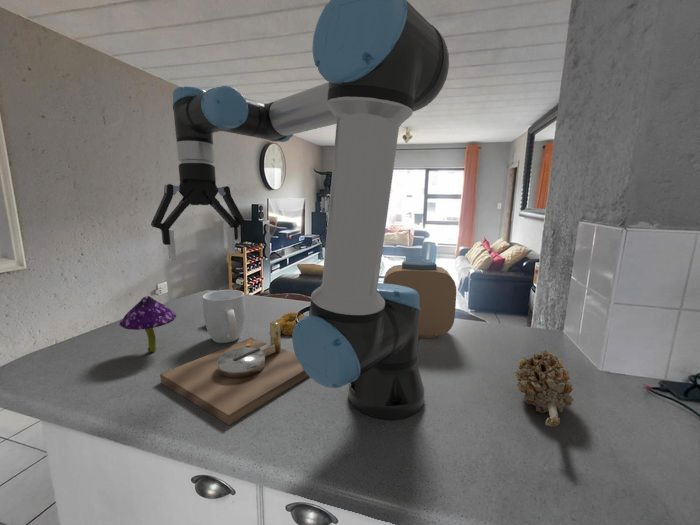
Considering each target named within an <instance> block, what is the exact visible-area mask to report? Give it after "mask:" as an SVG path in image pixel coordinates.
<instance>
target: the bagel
mask: <svg viewBox="0 0 700 525" xmlns="http://www.w3.org/2000/svg"><path fill="white" fill-rule="evenodd" d="M298 313H299V312H287V313H284V314H283V315H281V317H280V318H278V319H276V320H275V321H278V322H280V335H284V336H292V335H293V330H294V327H295V325H296V322H295V318H296V315H297V314H298ZM300 314H301V315H300V316H299V321H300V320H301V319H302V318H303V317H304V316H305V315H304V314H302V313H300Z"/></svg>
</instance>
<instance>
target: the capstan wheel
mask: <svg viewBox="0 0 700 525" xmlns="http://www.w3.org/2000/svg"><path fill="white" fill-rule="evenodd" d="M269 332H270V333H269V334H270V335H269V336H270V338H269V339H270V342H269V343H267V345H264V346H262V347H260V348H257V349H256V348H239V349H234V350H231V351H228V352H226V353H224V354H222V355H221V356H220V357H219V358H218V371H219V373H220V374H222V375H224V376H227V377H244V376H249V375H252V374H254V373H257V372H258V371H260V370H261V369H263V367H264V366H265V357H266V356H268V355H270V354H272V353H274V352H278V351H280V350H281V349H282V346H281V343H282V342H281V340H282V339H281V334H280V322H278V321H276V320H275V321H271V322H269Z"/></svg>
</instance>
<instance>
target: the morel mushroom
mask: <svg viewBox="0 0 700 525" xmlns="http://www.w3.org/2000/svg"><path fill="white" fill-rule="evenodd" d="M517 362H518V365H517V367H518V368H516V369H517V370H516V371H515V372H514V376H515V377H516V380H517V381H518V382H517V383H516V386H517V387H518V391H519V392H521V393H524V394H523V395H524V400H525V401H526V403H527V404H530V405H533V406H535V412H539V414H544V413H546V412H548V415H549V417H547V419H546V420H545V425H546V426H549V427H557V426H559V424H560V423H561V422H560V421H561V417H559V413H558V411H559V412H560V413H562V412H563V408H564V407H566V406H567V407H568V406H571V405H573V403H572V402H574V401H575V399H574V397H573V396H571V395H570V394H571V393H572V391H573V390H574V388H573V383H572V382H570V381H569V380H570V379H571V375H570V373H569V369H565V368H564V364H563V361H562V359H560V358H558V357H556V355H555V354H554V353H552V352H550V351H548V350H543V351H542V350H541V351H540V352H539V353H533V356H531V357H530V358H526V357H524V356H523V357H522V358H520V359H519V361H517Z"/></svg>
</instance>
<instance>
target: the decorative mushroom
mask: <svg viewBox="0 0 700 525" xmlns="http://www.w3.org/2000/svg"><path fill="white" fill-rule="evenodd" d="M176 318H177V314H176V312H174V311H173V310H172V309H170V308H169V307H168V306H166V305H164V304H163V303H161V302H159V301H158V300H156V299H154V298H153V297H151V296H149V295H144V296H143V297H142V298H141V300H140V301H139V302H137V303H136V304H135V305H134V306H133V307H132V308H130V309H129V311H128V312H127V313H126V314H125V315H124V317H123V318H122V319H121V320H120V322H119V326H120V327H122V328H123V329H126V330H133V331H135V330H137V331H138V330H145V333H146V335H147V340H148V347H147V352H150V353H153V352H156V351H157V344H156V343H157V339H156V334H155V331H154V329H155V328H159V327H161V326H165V325H167V324H170V323H171V322H174V320H175V319H176Z"/></svg>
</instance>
